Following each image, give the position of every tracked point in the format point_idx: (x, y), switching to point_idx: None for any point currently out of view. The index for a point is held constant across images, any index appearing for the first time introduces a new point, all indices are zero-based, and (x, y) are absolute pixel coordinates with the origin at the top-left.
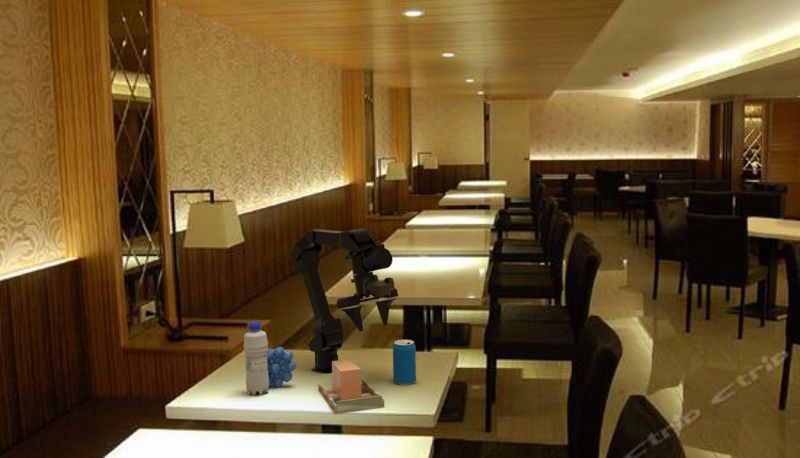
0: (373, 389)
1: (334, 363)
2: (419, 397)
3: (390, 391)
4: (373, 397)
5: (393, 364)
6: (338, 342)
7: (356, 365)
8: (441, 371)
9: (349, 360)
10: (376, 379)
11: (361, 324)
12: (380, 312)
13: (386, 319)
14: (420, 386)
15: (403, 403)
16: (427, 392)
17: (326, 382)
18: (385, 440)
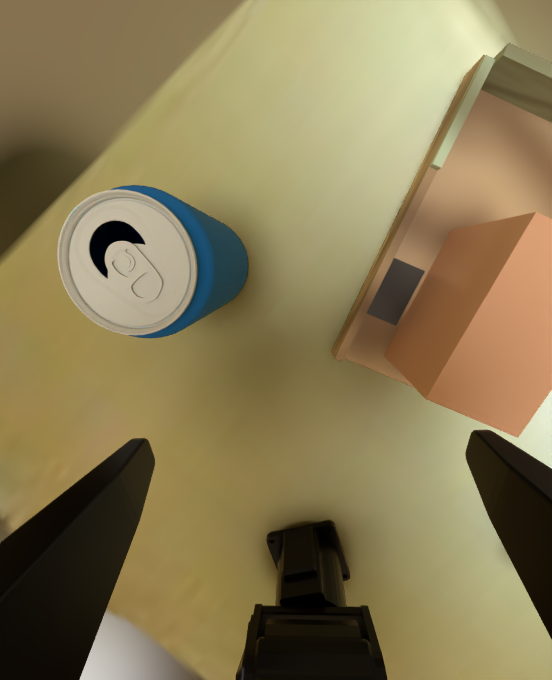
0: (403, 220)
1: (539, 400)
2: (273, 85)
3: (306, 230)
4: (544, 61)
5: (230, 290)
6: (286, 621)
7: (494, 287)
8: (22, 273)
9: (449, 386)
10: (255, 370)
11: (542, 479)
12: (82, 634)
13: (109, 473)
14: (186, 192)
15: (366, 73)
16: (211, 112)
17: (395, 461)
18: None
